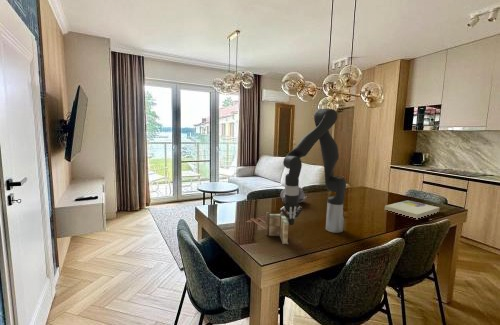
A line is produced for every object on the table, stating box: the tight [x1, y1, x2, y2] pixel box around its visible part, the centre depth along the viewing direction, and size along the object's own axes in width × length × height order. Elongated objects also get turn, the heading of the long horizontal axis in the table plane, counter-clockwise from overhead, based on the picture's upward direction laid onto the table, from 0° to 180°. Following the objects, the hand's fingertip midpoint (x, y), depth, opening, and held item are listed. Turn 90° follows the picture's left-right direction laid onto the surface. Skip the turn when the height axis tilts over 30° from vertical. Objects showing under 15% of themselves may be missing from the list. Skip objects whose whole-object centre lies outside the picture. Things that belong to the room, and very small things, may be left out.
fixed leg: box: [265, 211, 285, 236], centre depth 140 cm, size 10×2×13 cm, turn 93°
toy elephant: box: [279, 186, 308, 204], centre depth 209 cm, size 20×18×15 cm
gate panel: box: [279, 215, 289, 244], centre depth 134 cm, size 10×2×12 cm, turn 3°
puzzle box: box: [384, 200, 440, 220], centre depth 194 cm, size 36×5×24 cm
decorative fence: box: [245, 216, 266, 231], centre depth 157 cm, size 23×2×15 cm
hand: (291, 224), depth 132 cm, fingers closed
